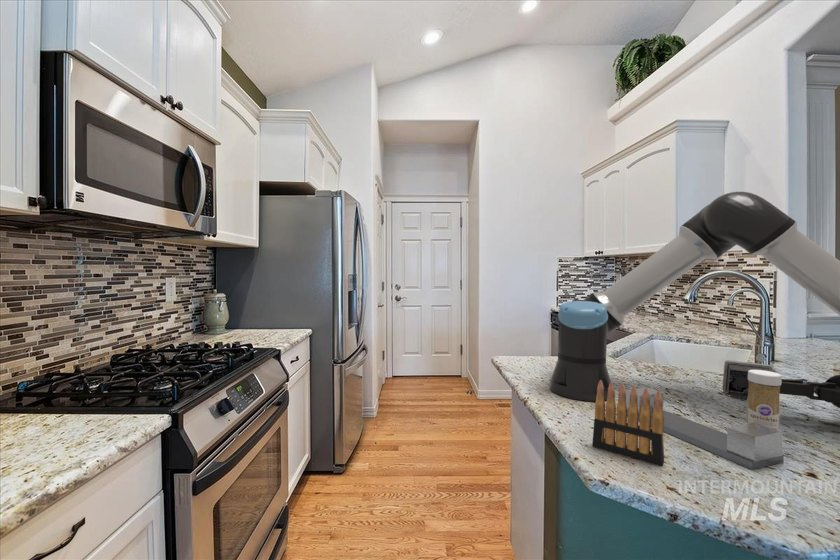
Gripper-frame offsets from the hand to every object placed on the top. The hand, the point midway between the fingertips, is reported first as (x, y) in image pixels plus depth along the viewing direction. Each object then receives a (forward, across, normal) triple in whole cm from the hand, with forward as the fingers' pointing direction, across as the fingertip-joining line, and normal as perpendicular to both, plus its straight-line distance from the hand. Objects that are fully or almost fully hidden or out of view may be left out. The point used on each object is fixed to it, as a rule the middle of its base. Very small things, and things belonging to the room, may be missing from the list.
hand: (794, 401), depth 72 cm
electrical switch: (-20, +19, -7) cm, 28 cm away
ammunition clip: (+36, +5, -7) cm, 38 cm away
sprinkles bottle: (+9, 0, -7) cm, 12 cm away
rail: (+18, +7, -7) cm, 20 cm away
